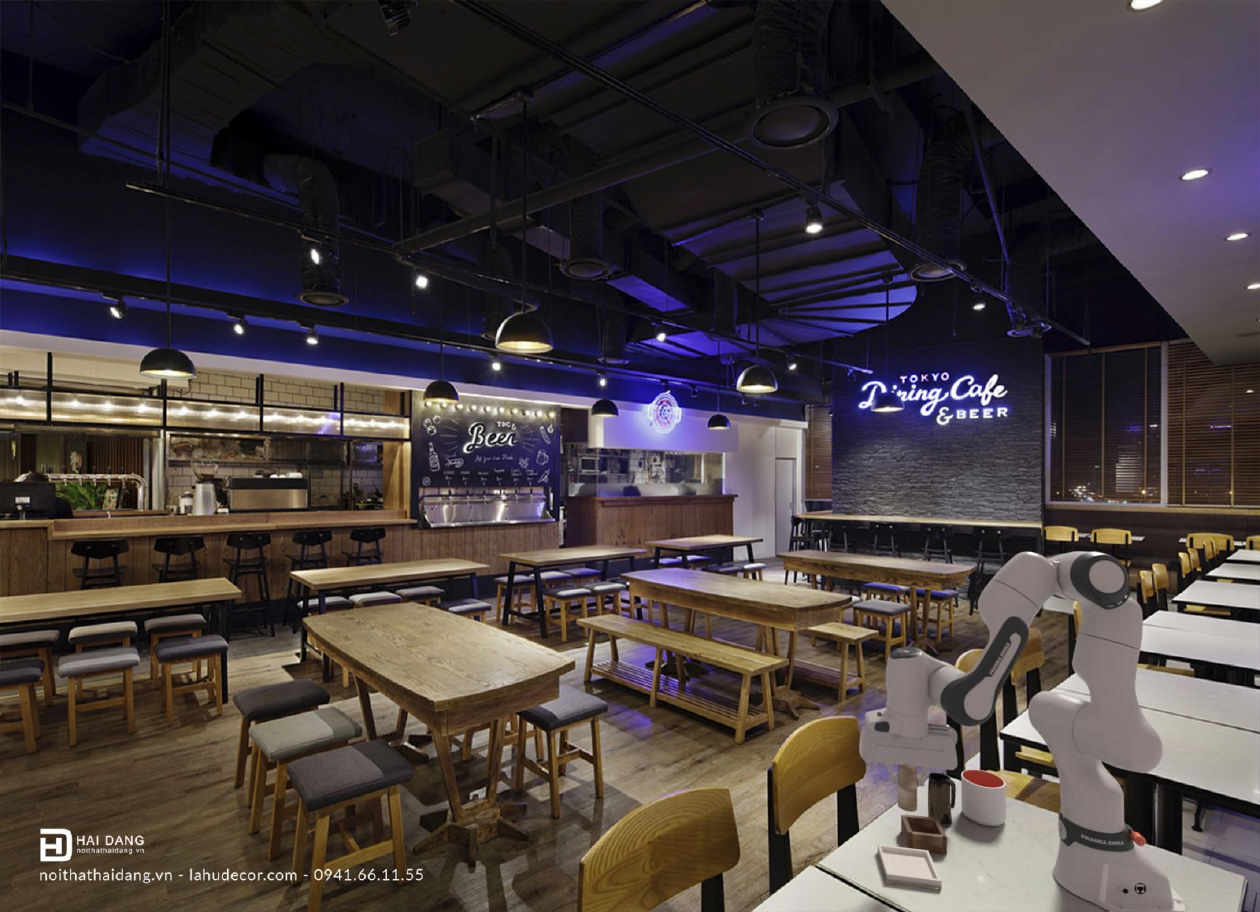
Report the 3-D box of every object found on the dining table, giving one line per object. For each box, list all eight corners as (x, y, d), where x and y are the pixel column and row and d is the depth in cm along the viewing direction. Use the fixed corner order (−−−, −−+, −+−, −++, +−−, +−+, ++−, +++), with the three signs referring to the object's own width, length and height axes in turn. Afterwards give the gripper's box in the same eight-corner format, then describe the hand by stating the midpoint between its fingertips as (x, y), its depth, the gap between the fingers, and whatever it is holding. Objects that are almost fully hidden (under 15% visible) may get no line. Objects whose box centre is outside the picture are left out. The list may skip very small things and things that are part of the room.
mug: (923, 815, 162) (922, 769, 162) (941, 813, 163) (941, 767, 163) (944, 833, 154) (943, 784, 154) (963, 830, 155) (963, 781, 155)
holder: (937, 834, 153) (937, 818, 153) (947, 855, 145) (947, 837, 145) (900, 830, 155) (900, 813, 155) (908, 850, 147) (908, 833, 147)
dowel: (914, 803, 141) (914, 758, 142) (919, 812, 137) (918, 766, 138) (896, 801, 142) (895, 756, 142) (899, 810, 138) (899, 764, 139)
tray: (928, 858, 144) (928, 850, 144) (941, 889, 133) (941, 881, 133) (877, 852, 146) (877, 844, 146) (886, 882, 135) (886, 874, 135)
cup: (1012, 830, 155) (1012, 790, 155) (968, 826, 157) (968, 786, 157) (997, 809, 165) (996, 771, 165) (956, 805, 167) (956, 767, 167)
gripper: (952, 720, 141) (953, 781, 141) (857, 712, 146) (858, 772, 145) (961, 731, 135) (961, 796, 135) (862, 723, 139) (862, 785, 139)
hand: (907, 783), depth 140 cm, fingers closed on dowel, 4 cm apart
